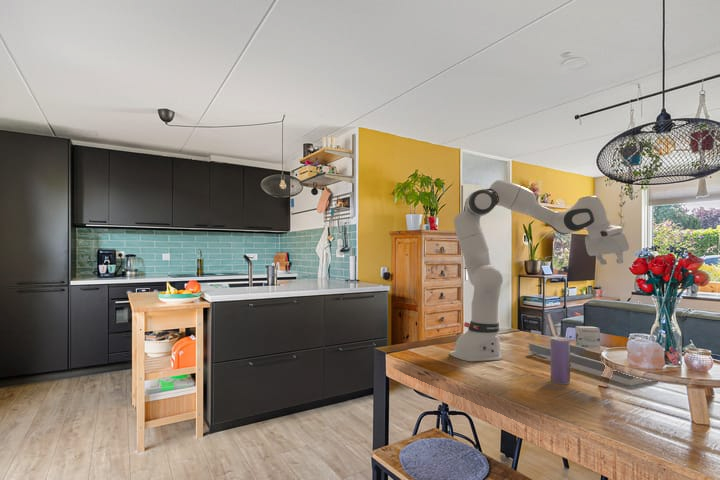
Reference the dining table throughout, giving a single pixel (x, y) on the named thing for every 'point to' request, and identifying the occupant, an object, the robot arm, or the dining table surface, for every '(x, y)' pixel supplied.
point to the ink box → (587, 337)
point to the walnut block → (593, 354)
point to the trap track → (584, 363)
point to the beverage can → (560, 360)
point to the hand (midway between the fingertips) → (612, 263)
